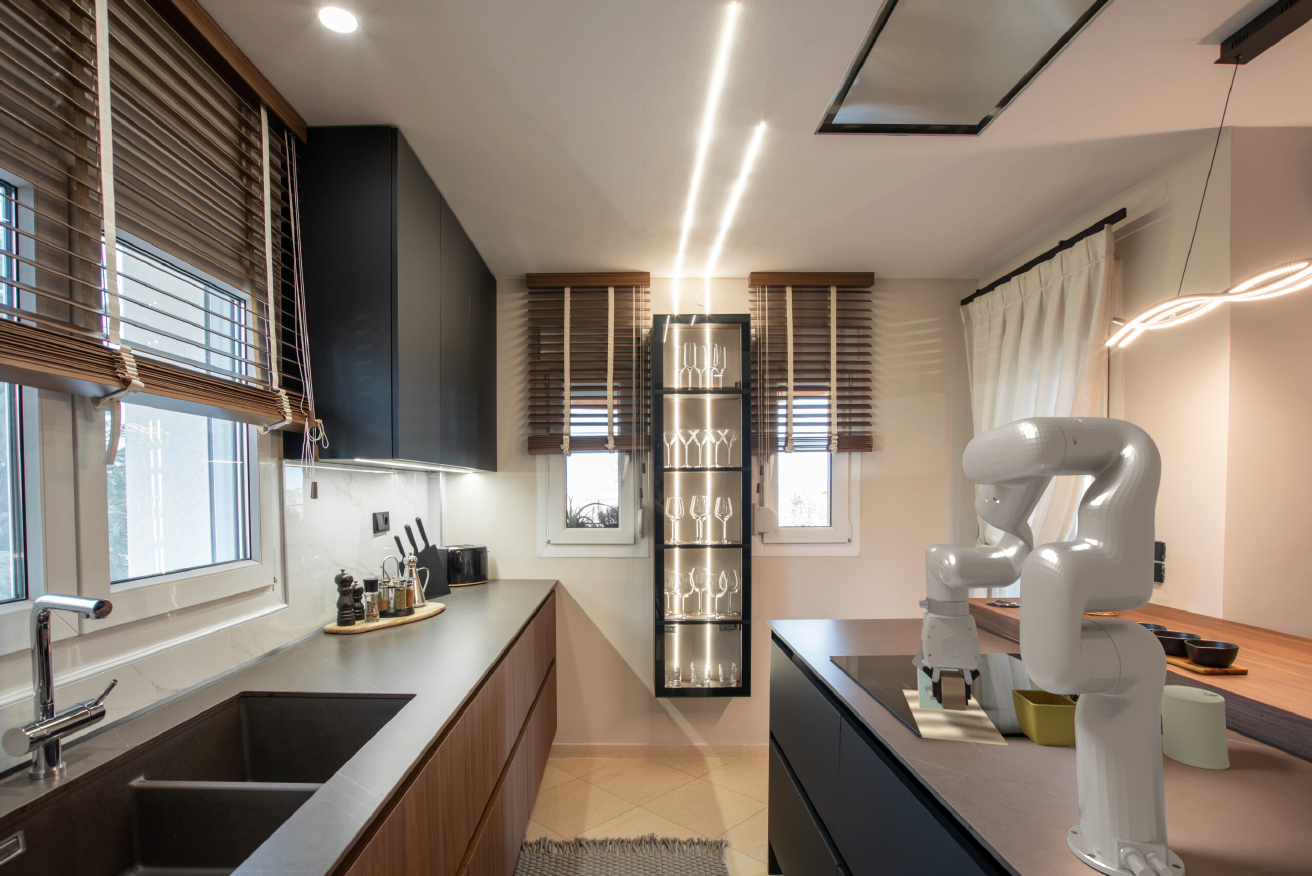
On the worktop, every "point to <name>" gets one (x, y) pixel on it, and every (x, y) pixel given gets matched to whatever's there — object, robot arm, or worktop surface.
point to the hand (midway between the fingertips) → (951, 701)
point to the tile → (922, 695)
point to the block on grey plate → (950, 690)
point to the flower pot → (1045, 716)
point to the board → (954, 722)
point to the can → (1194, 727)
